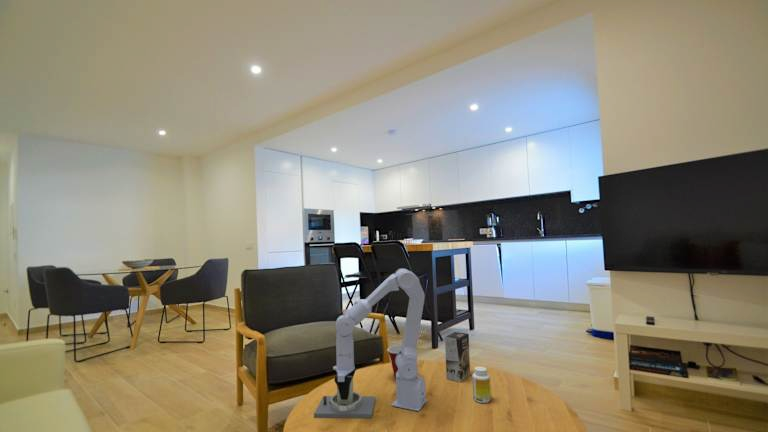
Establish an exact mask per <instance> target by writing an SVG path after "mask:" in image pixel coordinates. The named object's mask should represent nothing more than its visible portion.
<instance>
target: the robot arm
mask: <svg viewBox="0 0 768 432" xmlns="http://www.w3.org/2000/svg"><path fill="white" fill-rule="evenodd" d="M400 288H401V289H402V290H403V291H404V292H405V294H406V295H407V296H408V297H409V299H408V305H407V312H406V317H405V318H406V320H405V324H404V330H403V336H402V341H401V342H402V343H401V344H402V345H401V346H400V350H399V353H398V354H397V356H396V358H395V363H396V366H397V367H398V371H397V373H396V379H395V388H396V389H395V391H396V399H395V400H394V401H393V402H392V403H391V406H393V407H398V408H401V409H406V410H411V411H416V412H419V411H420V410H421V409H422V407H423V406H424V405H425V404H426V403H427V401H428V399H427V393H426V392H427V390H426V387H427V386H426V379H425V378H424V377H421V376H419V375H418V373H419V367H418V363H417V362H418V360H417V359H418V351H417V346H418V342H419V341H418V340H419V334H420V328H421V321H422V316H423V309H424V305H425V296H426V294H425V292H424V290H423V286H422V285H421V282H420V278H419V277H418V276H417V275H416V274H415V273H414V272H413V271H411V270H408V269H407V268H398V269H397V270H395V272H394V273H392V274H390V275H389V276H388V277H387V278H386V279H385V280H384V281H383V282H382V283H380V284H379V285H378V286H377V288H375V290H373V291H372V292H371V294H369V295H368V296H367V297H366V298H364V299H362V298H360V299H358V300H357V299H356V300H355V301H354V302H353V305H351V306H350V307H349V309H348V310H344V311H343V312H342V315H339V316H338V318H337V319H336V321H335V330H336V334H335V337H336V340H335V349H336V350H335V355H336V365H334V366H332V369H333V370H334V371H335V372H336V375H337V376H336V375H335V376H334V378H333V379H334V383H335V384H336V387H337V386H338V389H339V393H340V397H341V400H347V399H348V396H349V387H350V383H351V380H352V378H353V379H354V375H355V373H356V371H357V368H356V367H355V355H354V353H355V350H354V349H355V347H354V337H353V332H354V330H355V329H354V328H355V327H356V326H359V324H360V323H362V321H364V320H365V319H366V318H367V317H368V316H369V315H370V314H371V313H372V311H373V310H372V309H373V306H374V305H376V304H377V303H378V302H379V301H380V300H381V299H383V298H384V297H385V296H386V295H388V294H389V293H390V292H396V291H397V292H398V291H400ZM347 376H353V377H347Z"/></svg>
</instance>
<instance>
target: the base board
mask: <svg viewBox="0 0 768 432" xmlns="http://www.w3.org/2000/svg"><path fill="white" fill-rule="evenodd" d="M325 396H326V399H327V404H326V405H324V404H323V397H322V399H321V400H320V402H319V403H318V406H317V407H316V409H315V411H314V413H313V418H316V419H317V418H318V419H319V418H320V419H322V418H326V419H329V418H331V419H332V418H333V419H343V418H344V419H372V417H373V413H374V408H375V404H376V400H377V399H376V398H377V397H376V396H374V395H372V396H371V395H370V396H369V395H368V396H365V395H361V396H362V405H361V407H360V408H358V409H357V410H355V411H351V412H336V411H334V410H332V409H331V407H330V398H331V396H332V395H325ZM356 401H358V400H355V399H353V403H355V402H356ZM334 403H337V401H336V402H334Z"/></svg>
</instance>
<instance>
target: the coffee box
mask: <svg viewBox="0 0 768 432" xmlns="http://www.w3.org/2000/svg"><path fill="white" fill-rule="evenodd" d="M469 335H470V334H469V333H468V332H467V333H466V332H458V331H457V332H456V331H453V332H452V333H450V334H448V335H446V336H445V337H444V342H445V344H444V346H445V371H446V372H445V373H446V374H445V378H446V379H447V380H450V381H454V382H458V383H461V382H463V381H464V380H465V379H467V378H468V377H469V376H470V375H471V360H470V359H471V357H470V338H469ZM466 377H467V378H466Z"/></svg>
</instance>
